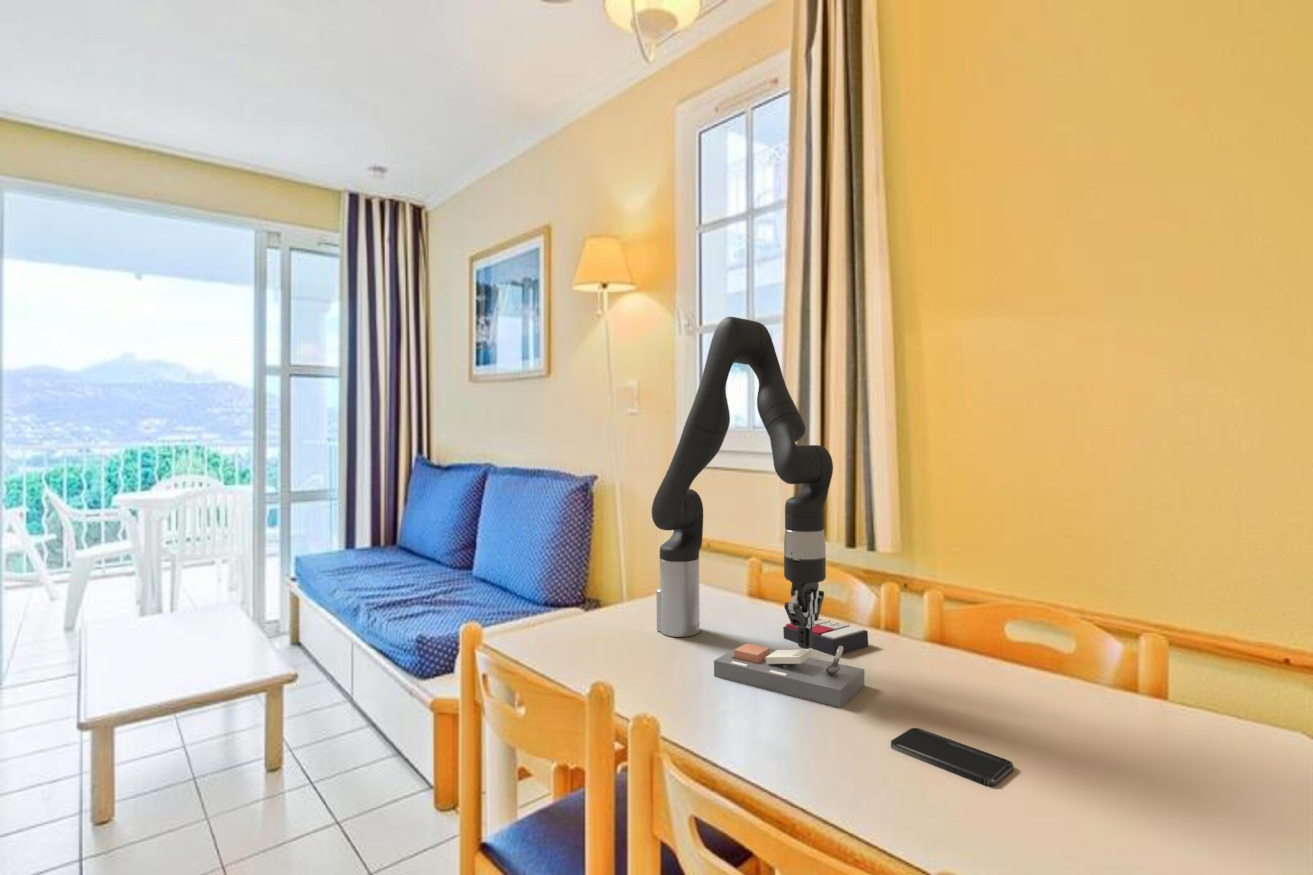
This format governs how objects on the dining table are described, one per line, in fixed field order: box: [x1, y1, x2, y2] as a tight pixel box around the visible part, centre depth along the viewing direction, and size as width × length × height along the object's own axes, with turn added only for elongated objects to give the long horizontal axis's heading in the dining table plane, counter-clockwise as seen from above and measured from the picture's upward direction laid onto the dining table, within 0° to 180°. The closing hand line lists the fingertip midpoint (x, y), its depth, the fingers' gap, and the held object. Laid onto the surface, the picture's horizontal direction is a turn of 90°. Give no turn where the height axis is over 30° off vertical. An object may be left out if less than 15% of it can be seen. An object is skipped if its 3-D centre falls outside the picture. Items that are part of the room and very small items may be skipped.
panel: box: [713, 643, 865, 709], centre depth 124 cm, size 25×12×4 cm, turn 53°
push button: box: [733, 642, 771, 664], centre depth 129 cm, size 5×5×3 cm
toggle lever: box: [826, 646, 843, 676], centre depth 119 cm, size 2×2×6 cm
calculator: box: [782, 617, 869, 657], centre depth 146 cm, size 11×4×15 cm
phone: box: [890, 727, 1014, 788], centre depth 95 cm, size 8×1×15 cm
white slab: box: [765, 648, 812, 664], centre depth 124 cm, size 7×5×1 cm
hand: (805, 647), depth 122 cm, fingers closed
